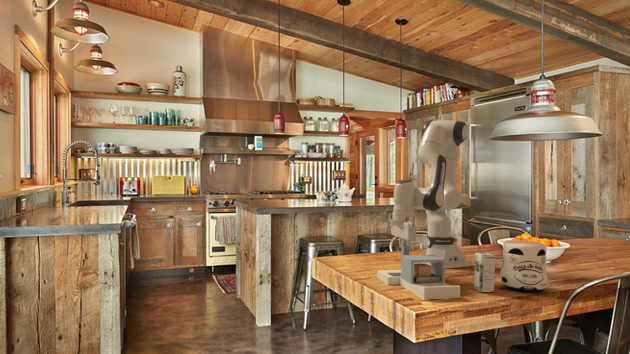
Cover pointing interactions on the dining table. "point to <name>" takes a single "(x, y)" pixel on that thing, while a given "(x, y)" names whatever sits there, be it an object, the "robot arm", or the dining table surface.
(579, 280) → the dining table surface
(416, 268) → the block
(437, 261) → the tunnel
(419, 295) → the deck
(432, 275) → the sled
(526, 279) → the milk container
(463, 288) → the dining table surface
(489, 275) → the syrup box
